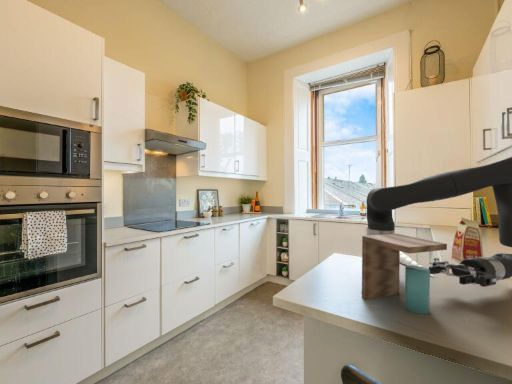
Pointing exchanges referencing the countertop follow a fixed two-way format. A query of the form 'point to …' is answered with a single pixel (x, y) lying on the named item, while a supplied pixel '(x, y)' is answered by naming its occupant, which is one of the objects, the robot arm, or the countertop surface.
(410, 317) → the countertop surface
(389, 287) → the shelf
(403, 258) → the unicorn horn
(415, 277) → the teal rounded cylinder
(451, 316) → the countertop surface
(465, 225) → the milk carton
